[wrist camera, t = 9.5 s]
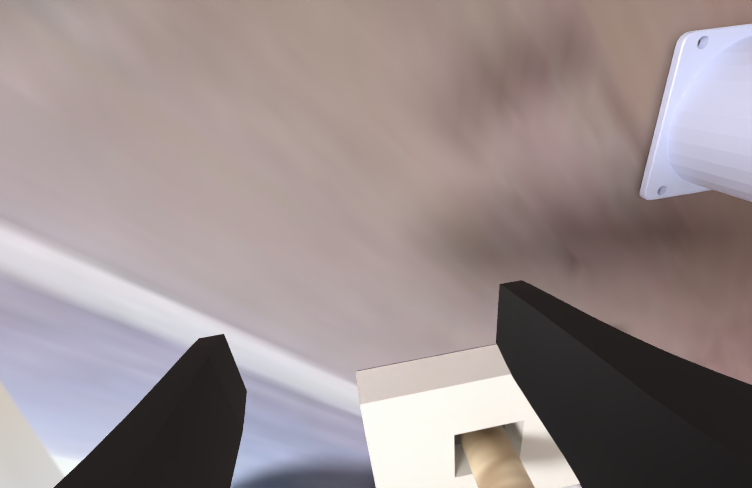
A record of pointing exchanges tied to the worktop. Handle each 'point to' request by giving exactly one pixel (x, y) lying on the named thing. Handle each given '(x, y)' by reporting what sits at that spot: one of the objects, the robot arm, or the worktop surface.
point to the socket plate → (450, 421)
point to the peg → (494, 459)
